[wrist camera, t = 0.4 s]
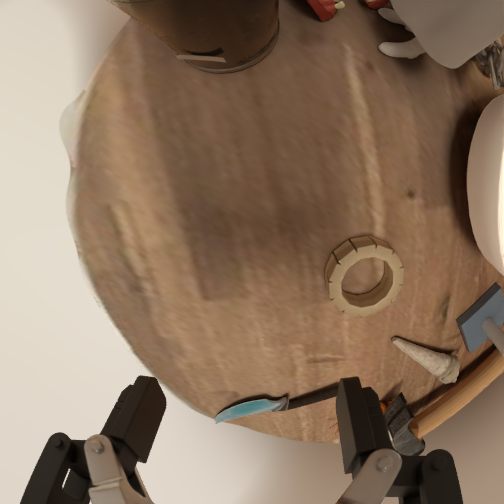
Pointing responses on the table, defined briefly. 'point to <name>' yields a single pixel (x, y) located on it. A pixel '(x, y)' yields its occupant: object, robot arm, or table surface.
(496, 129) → the bowl
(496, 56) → the chain
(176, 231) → the table surface
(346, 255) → the ring
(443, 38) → the character figure
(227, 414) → the knife
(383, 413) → the dragon
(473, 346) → the peg stand
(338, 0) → the dental model
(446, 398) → the hammer
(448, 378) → the seashell
